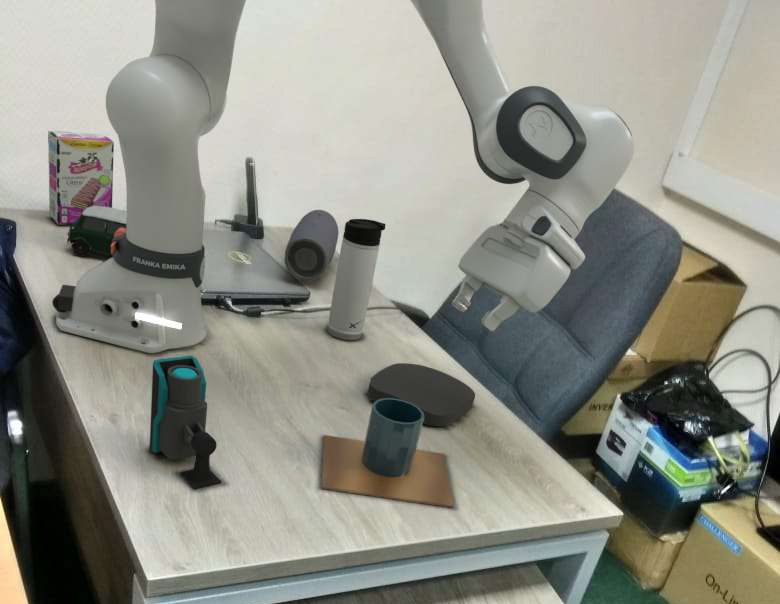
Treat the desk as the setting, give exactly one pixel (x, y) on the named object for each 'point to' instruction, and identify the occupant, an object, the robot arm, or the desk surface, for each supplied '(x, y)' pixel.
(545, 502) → the desk surface
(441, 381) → the media streaming box
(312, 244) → the bluetooth speaker
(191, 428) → the surveillance camera
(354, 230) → the travel mug
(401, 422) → the cup
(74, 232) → the miniature car
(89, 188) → the candy bar box
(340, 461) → the brown flat rectangular board
